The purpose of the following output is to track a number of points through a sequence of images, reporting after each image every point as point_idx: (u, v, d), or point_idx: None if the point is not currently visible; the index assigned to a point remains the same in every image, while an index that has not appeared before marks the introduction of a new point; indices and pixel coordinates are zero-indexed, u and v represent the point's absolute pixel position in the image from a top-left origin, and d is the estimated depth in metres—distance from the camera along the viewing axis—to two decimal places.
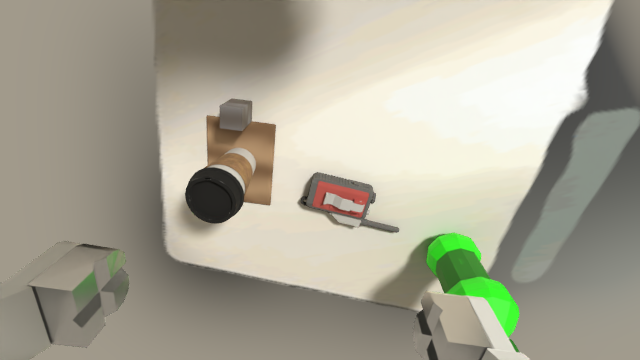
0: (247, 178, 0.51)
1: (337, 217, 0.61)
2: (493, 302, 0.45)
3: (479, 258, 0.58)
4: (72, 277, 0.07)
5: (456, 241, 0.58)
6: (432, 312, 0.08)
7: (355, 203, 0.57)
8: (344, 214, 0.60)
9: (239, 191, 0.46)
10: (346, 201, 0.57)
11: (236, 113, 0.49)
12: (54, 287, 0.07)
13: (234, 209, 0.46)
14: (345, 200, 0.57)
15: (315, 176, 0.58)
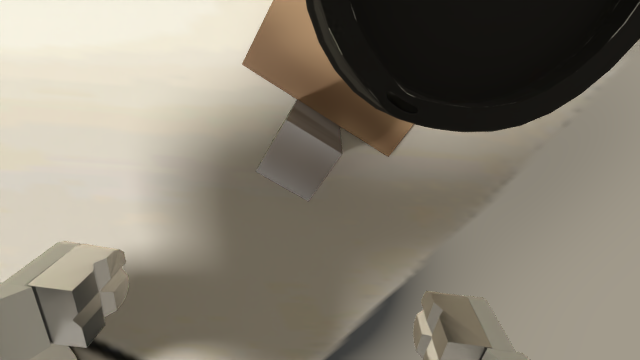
0: None
1: None
2: None
3: None
4: (72, 277, 0.07)
5: None
6: (432, 312, 0.08)
7: None
8: None
9: None
10: None
11: (276, 168, 0.18)
12: (54, 287, 0.07)
13: None
14: None
15: None
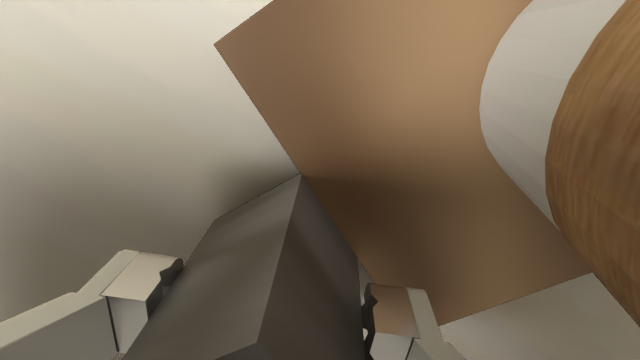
0: None
1: None
2: None
3: None
4: (142, 286, 0.07)
5: None
6: (370, 304, 0.08)
7: None
8: None
9: None
10: None
11: None
12: (127, 297, 0.07)
13: None
14: None
15: None
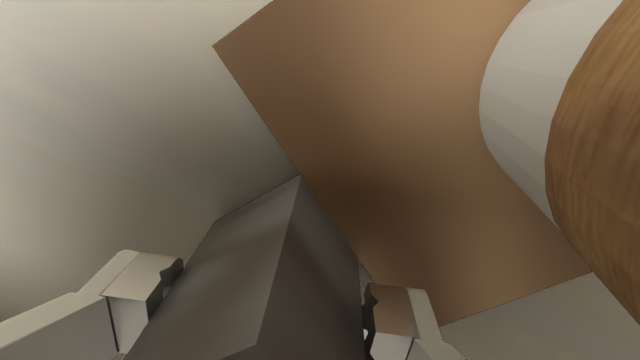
0: None
1: None
2: None
3: None
4: (142, 286, 0.07)
5: None
6: (370, 304, 0.08)
7: None
8: None
9: None
10: None
11: None
12: (127, 297, 0.07)
13: None
14: None
15: None
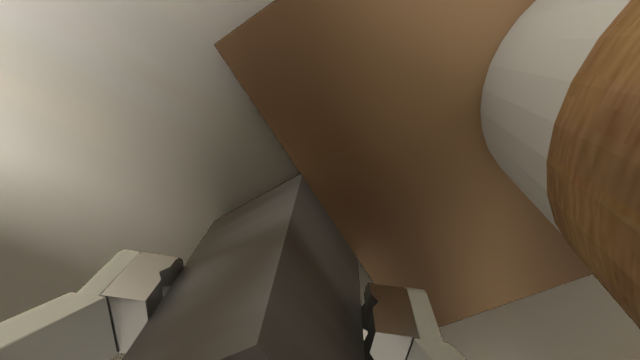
0: None
1: None
2: None
3: None
4: (142, 286, 0.07)
5: None
6: (370, 304, 0.08)
7: None
8: None
9: None
10: None
11: None
12: (127, 297, 0.07)
13: None
14: None
15: None
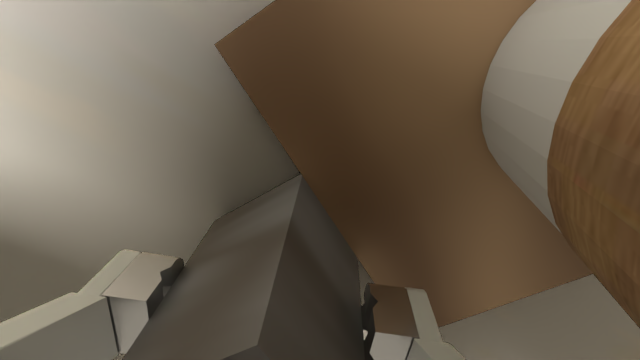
0: None
1: None
2: None
3: None
4: (143, 286, 0.07)
5: None
6: (369, 304, 0.08)
7: None
8: None
9: None
10: None
11: None
12: (127, 297, 0.07)
13: None
14: None
15: None
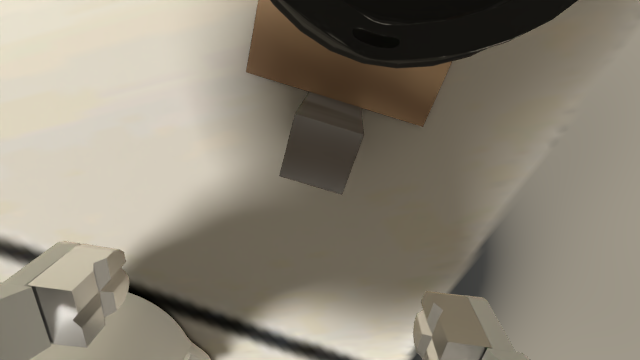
0: None
1: None
2: None
3: None
4: (72, 277, 0.07)
5: None
6: (432, 312, 0.08)
7: None
8: None
9: None
10: None
11: (299, 167, 0.17)
12: (54, 287, 0.07)
13: None
14: None
15: None
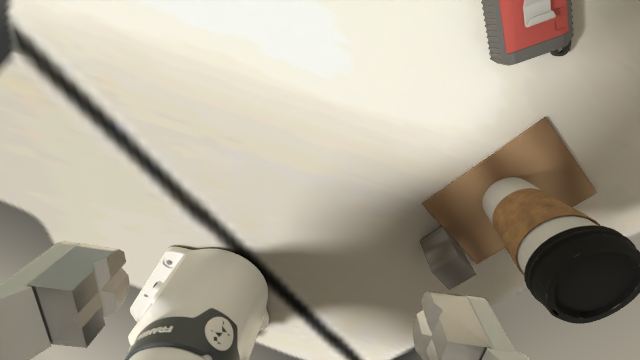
0: (518, 221, 0.31)
1: None
2: None
3: None
4: (72, 277, 0.07)
5: None
6: (432, 312, 0.08)
7: None
8: None
9: (546, 254, 0.26)
10: None
11: (442, 273, 0.37)
12: (54, 287, 0.07)
13: (587, 251, 0.24)
14: None
15: (501, 62, 0.31)
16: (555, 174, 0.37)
